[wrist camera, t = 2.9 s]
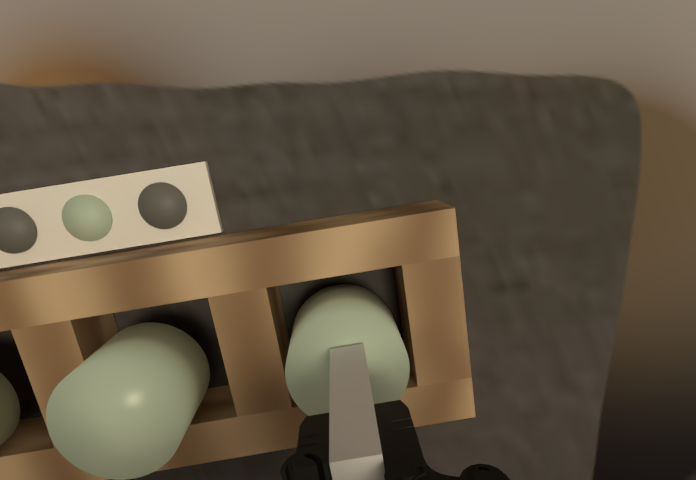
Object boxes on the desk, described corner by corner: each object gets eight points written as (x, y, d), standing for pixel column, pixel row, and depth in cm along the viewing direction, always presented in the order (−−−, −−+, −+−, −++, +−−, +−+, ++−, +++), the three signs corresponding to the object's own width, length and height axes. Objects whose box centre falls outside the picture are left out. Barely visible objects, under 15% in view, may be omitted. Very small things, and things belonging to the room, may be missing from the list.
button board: (-53, 468, 25) (-112, 516, 22) (-131, 292, 23) (-212, 316, 19) (455, 382, 26) (475, 416, 22) (436, 199, 23) (454, 207, 20)
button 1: (302, 386, 22) (297, 436, 18) (283, 293, 21) (273, 325, 17) (401, 370, 22) (416, 415, 19) (388, 276, 21) (401, 304, 17)
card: (-19, 270, 23) (-28, 273, 22) (-45, 201, 22) (-55, 203, 21) (223, 231, 23) (220, 233, 22) (207, 161, 22) (203, 161, 22)
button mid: (116, 427, 21) (69, 489, 17) (85, 332, 20) (27, 375, 16) (220, 410, 21) (196, 467, 17) (195, 313, 20) (164, 352, 16)
